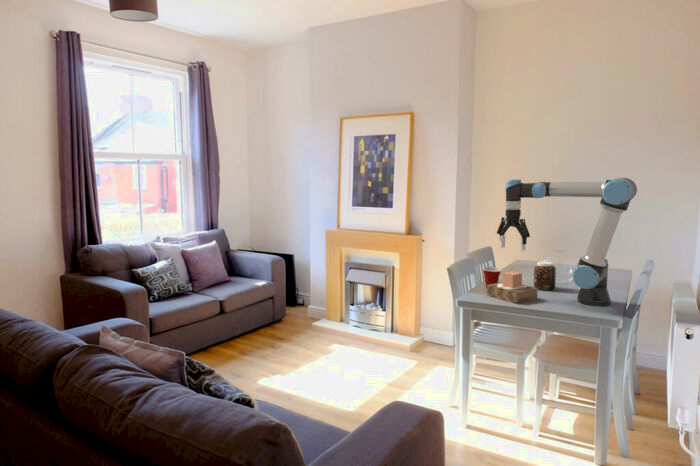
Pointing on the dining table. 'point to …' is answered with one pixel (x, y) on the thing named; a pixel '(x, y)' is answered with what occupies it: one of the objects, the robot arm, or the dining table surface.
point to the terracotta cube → (512, 279)
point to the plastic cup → (491, 275)
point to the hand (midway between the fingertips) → (512, 249)
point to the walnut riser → (512, 293)
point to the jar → (544, 276)
